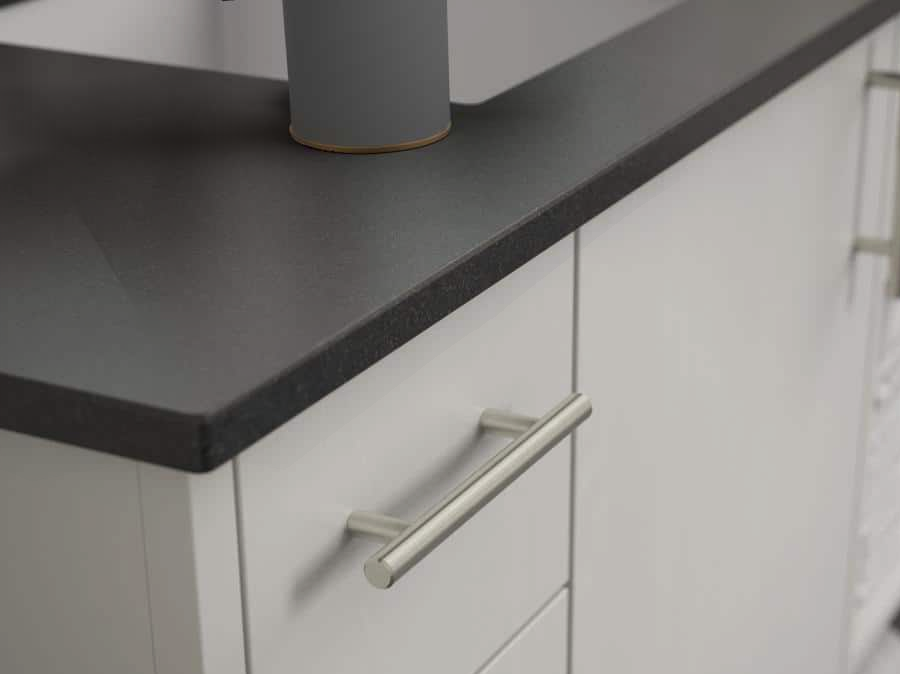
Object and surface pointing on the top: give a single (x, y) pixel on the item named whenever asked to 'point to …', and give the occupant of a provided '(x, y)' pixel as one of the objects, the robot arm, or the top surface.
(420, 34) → the cup
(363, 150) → the cork coaster
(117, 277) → the top surface
